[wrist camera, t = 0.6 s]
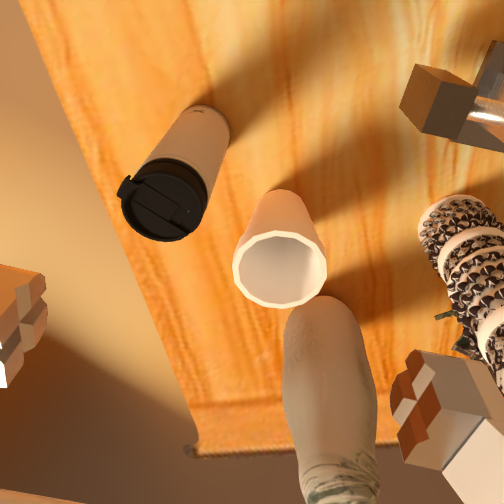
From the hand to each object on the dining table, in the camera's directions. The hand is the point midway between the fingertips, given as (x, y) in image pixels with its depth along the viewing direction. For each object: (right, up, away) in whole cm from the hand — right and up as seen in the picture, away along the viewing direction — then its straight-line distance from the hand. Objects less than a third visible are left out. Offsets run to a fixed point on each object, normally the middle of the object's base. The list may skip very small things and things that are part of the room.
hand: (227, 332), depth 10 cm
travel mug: (-5, +16, +40) cm, 43 cm away
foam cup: (+4, +7, +45) cm, 45 cm away
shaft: (+24, +15, +31) cm, 43 cm away
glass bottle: (+10, -6, +53) cm, 54 cm away
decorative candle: (+25, +5, +44) cm, 51 cm away
